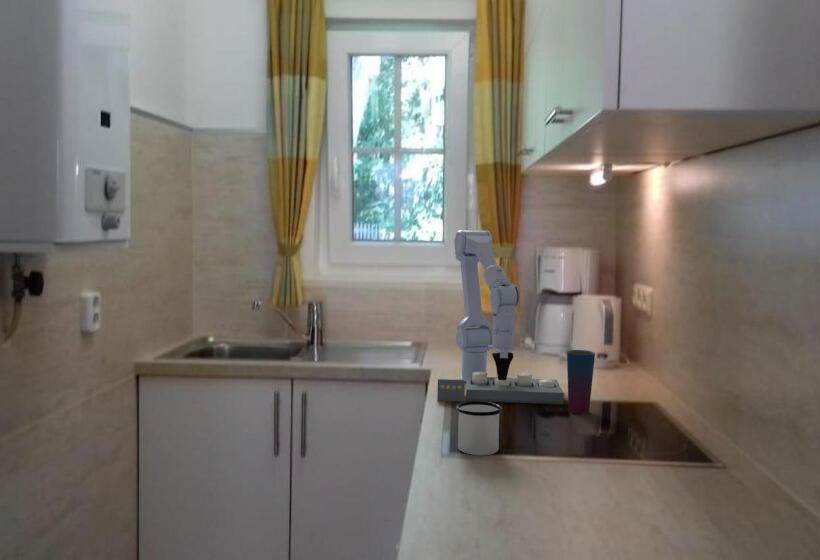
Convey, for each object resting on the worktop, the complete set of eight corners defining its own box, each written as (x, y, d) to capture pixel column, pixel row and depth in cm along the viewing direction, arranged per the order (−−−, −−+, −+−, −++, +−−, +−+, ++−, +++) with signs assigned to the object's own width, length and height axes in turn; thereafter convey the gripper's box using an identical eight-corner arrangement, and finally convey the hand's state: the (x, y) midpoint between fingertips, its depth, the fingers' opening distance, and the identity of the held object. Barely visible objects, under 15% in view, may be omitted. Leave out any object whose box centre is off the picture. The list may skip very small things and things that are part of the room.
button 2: (494, 389, 206) (494, 377, 206) (508, 390, 206) (509, 378, 206) (494, 393, 202) (494, 380, 202) (509, 393, 202) (509, 381, 202)
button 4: (538, 391, 205) (538, 379, 205) (553, 392, 205) (553, 379, 205) (539, 394, 201) (540, 382, 201) (554, 395, 201) (555, 382, 201)
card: (437, 399, 197) (437, 378, 197) (464, 400, 196) (464, 379, 196) (437, 400, 196) (437, 379, 195) (464, 401, 195) (464, 380, 195)
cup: (581, 416, 182) (583, 355, 181) (559, 410, 188) (561, 351, 186) (598, 412, 187) (600, 352, 185) (576, 406, 192) (578, 348, 191)
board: (466, 386, 212) (467, 376, 212) (556, 390, 210) (556, 379, 210) (466, 400, 196) (466, 389, 196) (563, 404, 194) (563, 392, 194)
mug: (499, 458, 150) (500, 414, 149) (451, 454, 151) (452, 410, 151) (503, 441, 161) (505, 399, 161) (460, 437, 163) (461, 396, 162)
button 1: (472, 383, 206) (472, 371, 206) (486, 384, 206) (487, 372, 206) (472, 387, 203) (472, 374, 202) (487, 387, 202) (487, 375, 202)
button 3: (516, 385, 206) (516, 373, 205) (531, 385, 205) (531, 373, 205) (517, 388, 202) (517, 376, 201) (532, 389, 201) (532, 376, 201)
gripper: (488, 325, 210) (486, 373, 211) (489, 333, 196) (487, 385, 197) (513, 326, 209) (512, 374, 211) (516, 334, 195) (514, 386, 196)
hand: (502, 379), depth 204 cm, fingers closed, pressing on button 2
